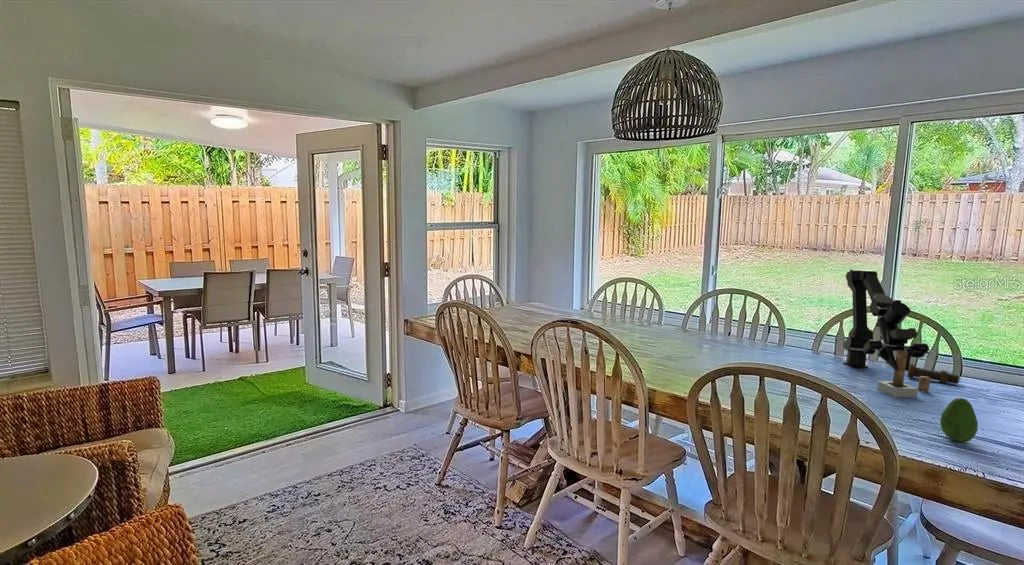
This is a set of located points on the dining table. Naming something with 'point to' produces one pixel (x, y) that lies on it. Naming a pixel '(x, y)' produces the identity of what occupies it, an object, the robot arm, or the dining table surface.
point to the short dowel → (924, 383)
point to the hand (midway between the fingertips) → (901, 370)
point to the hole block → (897, 389)
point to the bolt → (933, 375)
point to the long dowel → (900, 368)
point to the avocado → (959, 420)
